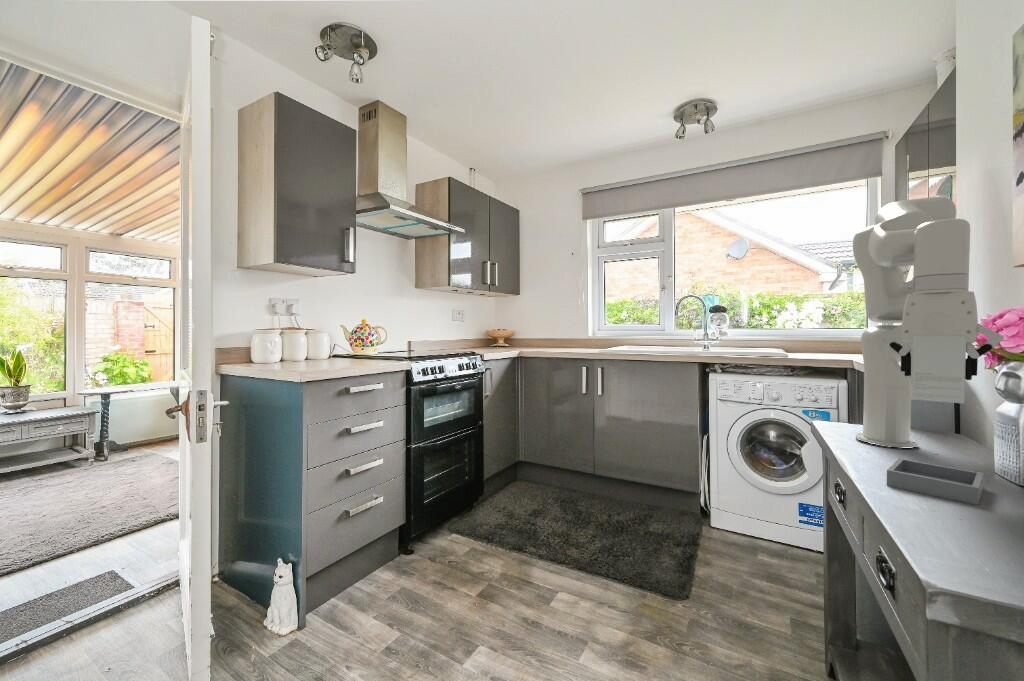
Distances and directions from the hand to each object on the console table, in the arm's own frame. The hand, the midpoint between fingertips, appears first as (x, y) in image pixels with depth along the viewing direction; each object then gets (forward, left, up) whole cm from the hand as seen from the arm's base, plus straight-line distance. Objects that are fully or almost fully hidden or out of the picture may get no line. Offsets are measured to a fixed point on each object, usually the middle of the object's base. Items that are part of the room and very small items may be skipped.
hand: (937, 376), depth 82 cm
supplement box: (0, 0, -5) cm, 5 cm away
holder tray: (0, 0, -21) cm, 21 cm away
